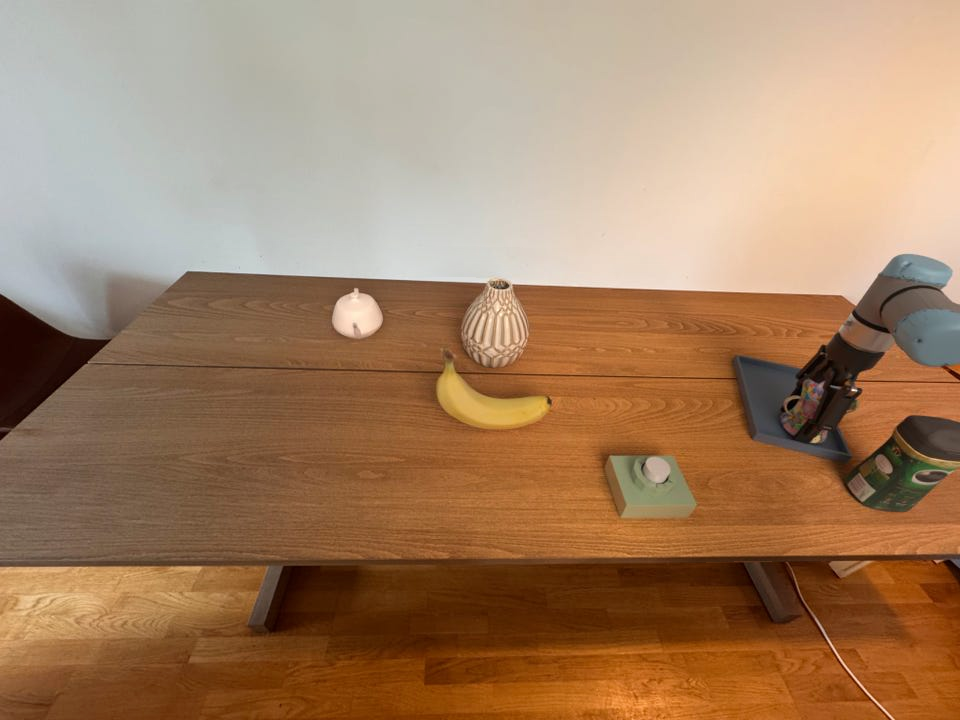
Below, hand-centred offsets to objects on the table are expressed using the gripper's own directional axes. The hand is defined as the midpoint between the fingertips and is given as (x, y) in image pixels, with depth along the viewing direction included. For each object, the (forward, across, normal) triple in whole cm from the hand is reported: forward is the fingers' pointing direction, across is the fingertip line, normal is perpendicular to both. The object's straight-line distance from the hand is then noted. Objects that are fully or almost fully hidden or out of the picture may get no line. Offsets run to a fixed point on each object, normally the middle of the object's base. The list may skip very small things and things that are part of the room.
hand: (792, 426), depth 88 cm
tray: (+1, -8, 0) cm, 8 cm away
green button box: (+1, +26, -30) cm, 40 cm away
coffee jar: (+1, +12, +11) cm, 17 cm away
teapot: (+1, +2, -101) cm, 101 cm away
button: (-5, +27, -30) cm, 40 cm away
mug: (0, 0, 0) cm, 1 cm away
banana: (+1, +20, -60) cm, 63 cm away
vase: (+1, 0, -66) cm, 66 cm away
